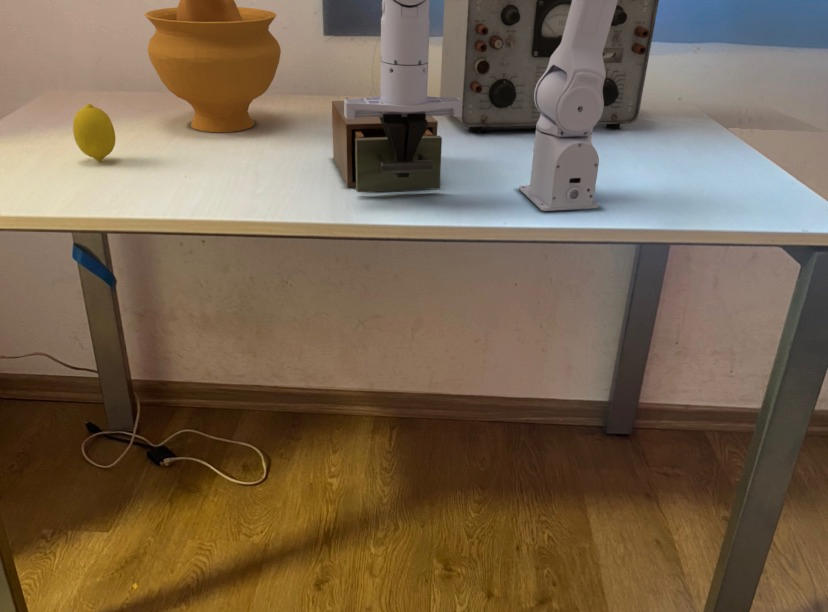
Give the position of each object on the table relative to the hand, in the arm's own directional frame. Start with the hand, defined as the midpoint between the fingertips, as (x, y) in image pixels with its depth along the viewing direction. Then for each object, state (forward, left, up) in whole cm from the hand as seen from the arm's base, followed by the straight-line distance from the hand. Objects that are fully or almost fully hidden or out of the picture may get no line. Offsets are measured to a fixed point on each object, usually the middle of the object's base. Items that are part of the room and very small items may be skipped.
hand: (401, 175), depth 102 cm
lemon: (+24, +40, -4) cm, 47 cm away
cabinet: (+14, 0, -4) cm, 14 cm away
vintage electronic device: (+39, -33, -4) cm, 51 cm away
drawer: (+6, 0, -3) cm, 7 cm away
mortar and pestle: (+44, +22, -4) cm, 49 cm away
